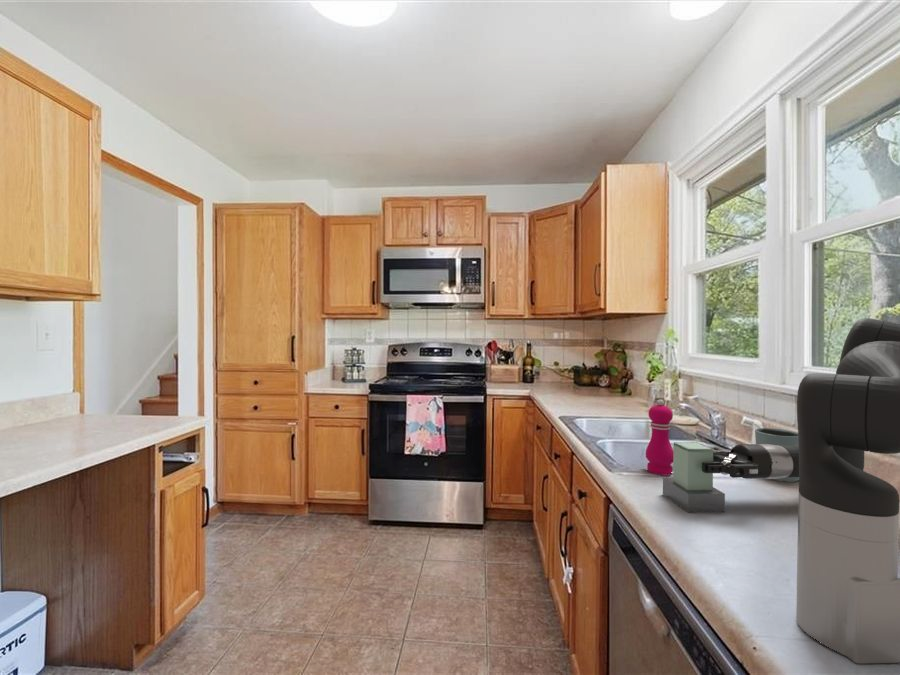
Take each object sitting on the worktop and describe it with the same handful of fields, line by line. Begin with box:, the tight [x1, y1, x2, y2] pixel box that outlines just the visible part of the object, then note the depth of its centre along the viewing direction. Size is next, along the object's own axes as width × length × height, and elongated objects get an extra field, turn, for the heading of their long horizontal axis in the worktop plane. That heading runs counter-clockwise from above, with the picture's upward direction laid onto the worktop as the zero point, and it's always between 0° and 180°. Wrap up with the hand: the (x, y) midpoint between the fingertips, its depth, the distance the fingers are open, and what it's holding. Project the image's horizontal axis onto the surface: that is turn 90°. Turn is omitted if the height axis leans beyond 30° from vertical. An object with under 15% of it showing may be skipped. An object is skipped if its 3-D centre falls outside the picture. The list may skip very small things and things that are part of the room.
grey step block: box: [662, 477, 726, 514], centre depth 94 cm, size 10×8×8 cm
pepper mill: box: [645, 399, 674, 476], centre depth 115 cm, size 7×7×20 cm
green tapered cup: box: [754, 427, 799, 483], centre depth 112 cm, size 10×10×12 cm
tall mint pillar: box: [672, 441, 714, 490], centre depth 94 cm, size 6×6×9 cm
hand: (690, 461), depth 94 cm, fingers open, 8 cm apart
